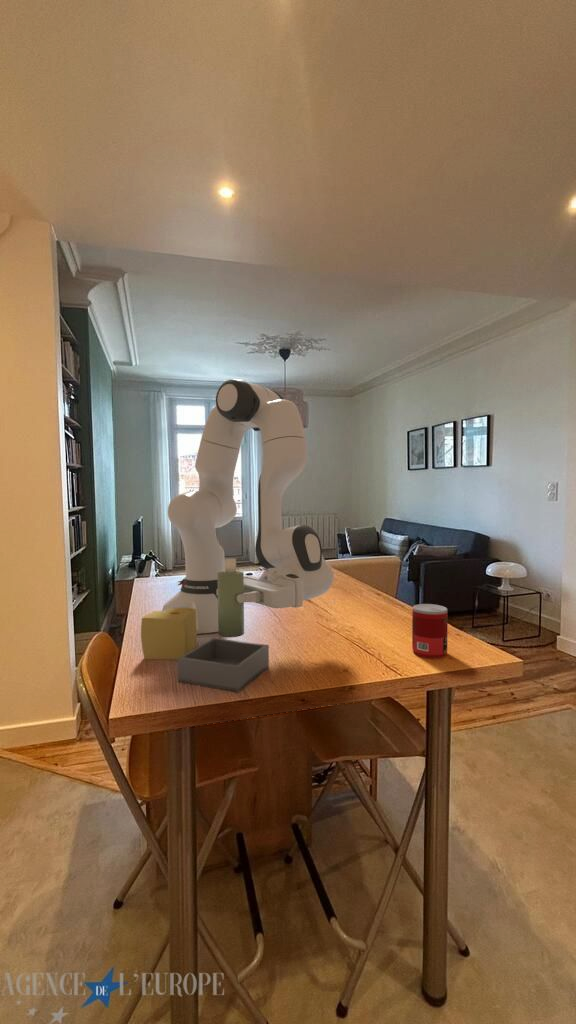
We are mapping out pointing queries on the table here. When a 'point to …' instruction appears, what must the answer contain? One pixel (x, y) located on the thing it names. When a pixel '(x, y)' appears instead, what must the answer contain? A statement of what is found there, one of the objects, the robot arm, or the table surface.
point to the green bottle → (230, 601)
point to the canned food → (429, 630)
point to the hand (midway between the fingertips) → (227, 595)
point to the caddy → (223, 664)
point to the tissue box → (168, 633)
